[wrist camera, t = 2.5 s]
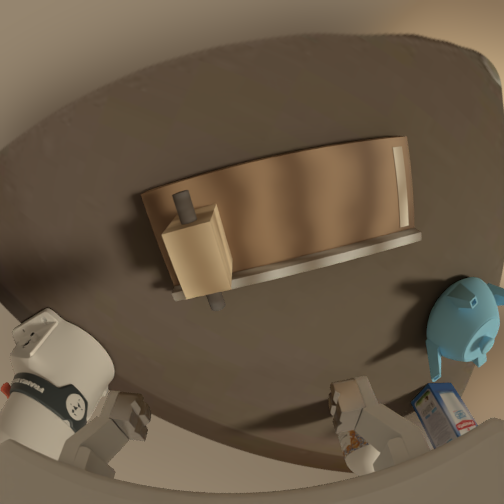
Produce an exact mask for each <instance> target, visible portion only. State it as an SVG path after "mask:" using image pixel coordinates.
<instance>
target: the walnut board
mask: <svg viewBox="0 0 504 504" xmlns="http://www.w3.org/2000/svg"><path fill="white" fill-rule="evenodd" d="M184 190H189V194H190V197H191V200H192V204H193V207H194V210H195V209H198V208H202V207H206V206H209V205H213V204H217V208H218V211H219V215H220V218H221V222H222V225H223V229H224V232H225V236H226V239H227V242H228V246H229V249H230V253H231V256H232V259H233V260H232V284H231V289H234V288H239V287H243V286H247V285H252V284H256V283H260V282H264V281H269V280H273V279H277V278H281V277H285V276H289V275H293V274H297V273H302V272H306V271H310V270H313V269H317V268H321V267H325V266H329V265H333V264H337V263H341V262H344V261H348V260H352V259H356V258H359V257H363V256H367V255H371V254H374V253H378V252H381V251H385V250H389V249H392V248H396V247H399V246H403V245H406V244H410V243H413V242H417V241H420V240H421V231H419V230H417V229H416V228H414V202H413V187H412V175H411V165H410V157H409V149H408V142H407V136H392V137H382V138H374V139H366V140H359V141H352V142H345V143H338V144H332V145H326V146H320V147H315V148H309V149H304V150H299V151H294V152H289V153H284V154H279V155H274V156H270V157H265V158H261V159H257V160H252V161H248V162H244V163H240V164H236V165H232V166H228V167H225V168H221V169H217V170H213V171H210V172H206V173H203V174H199V175H196V176H192V177H189V178H185V179H182V180H179V181H176V182H172V183H169V184H166V185H163V186H160V187H157V188H154V189H151V190H148V191H146V192H144V193H142V194H141V197H142V200H143V203H144V206H145V209H146V212H147V215H148V218H149V220H150V223H151V226H152V229H153V232H154V235H155V237H156V240H157V243H158V246H159V248H160V251H161V254H162V256H163V259H164V261H165V264H166V266H167V269H168V272H169V274H170V277H171V279H172V281H173V284H174V289H173V291H172V295H173V298H174V300H175V301H179V300H184V299H186V297H185V295H184V292H183V290H182V287H181V285H180V282H179V280H178V277H177V275H176V272H175V270H174V267H173V264H172V262H171V259H170V256H169V254H168V251H167V248H166V246H165V243H164V240H163V237H162V233H163V232H164V231H165V230H166V228H167V227H168V226H169V224H170V223H171V222H172V220H173V219H174V218H175V217H176V215H177V214H178V213H177V210H176V207H175V204H174V201H173V197H172V195H173V194H175V193H177V192H180V191H184Z"/></svg>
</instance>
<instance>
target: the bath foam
mask: <svg viewBox="0 0 504 504" xmlns="http://www.w3.org/2000/svg"><path fill="white" fill-rule="evenodd" d="M332 416H333V415H332ZM333 418H334V416H333ZM337 434H338V437H339V441H340V444H341V448H342V451H343V455H344V458H345V461H346V463H347V465H348V467H349V468H350V469H351V470H352V471H353V472H354V473H355V474H357V475H358V476H362V475H366V474H369V473H372V472H375V471H374V467H373V463H374V462H375V460H376V459H377V457H378V456H379V455H380V452H379V451H378V450H376V449H375V448H374V447H373V446H372V445H371V444H369V443H368V442H367V441H366V440H365V439H364V438H362V437H361V436H360V435H359V434H358V433H357V432H356V431H355V430H351V431H347V432H342V433H337Z"/></svg>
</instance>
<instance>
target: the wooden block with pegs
mask: <svg viewBox="0 0 504 504" xmlns="http://www.w3.org/2000/svg"><path fill="white" fill-rule="evenodd" d="M172 197H173V201H174V204H175V207H176V210H177V213H178V214H177V215H176V217H175V218H174V219H173V220H172V222H171V223H170V224H169V226H168V227H167V228H166V230H165V231H164V232H163V233H162V237H163V240H164V243H165V246H166V248H167V251H168V254H169V256H170V259H171V262H172V264H173V267H174V270H175V272H176V275H177V277H178V280H179V282H180V285H181V287H182V290H183V292H184V295H185V297H186V299H189V298H194V297H199V296H203V295H206V296H207V299H208V302H209V304H210V307H211V309H212V310H213V311H219V310H221V309H223V308H224V307H225V302H224V299H223V296H222V293H221V292H222V291H226V290H231V284H232V260H233V259H232V256H231V253H230V249H229V246H228V242H227V239H226V236H225V232H224V229H223V225H222V222H221V218H220V215H219V211H218V208H217V204H213V205H209V206H206V207H202V208H198V209H195V210H194V207H193V204H192V200H191V197H190V194H189V190H184V191H180V192H177V193H175V194H173V195H172Z"/></svg>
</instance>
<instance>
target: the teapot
mask: <svg viewBox="0 0 504 504" xmlns="http://www.w3.org/2000/svg"><path fill="white" fill-rule="evenodd" d="M499 305H504V289H503V288H501V287H498V286H495V285H492V284H489V283H488V284H487V285H486V283H485V282H483V281H482V280H481V279H479V278H476V277H469V278H465V279H462V280H460V281H457V282H455V283H454V284H452V285H451V286H450V287H449V288H447V289H446V290H445V291H444V292H443V294H442V295H441V296H440V297H439V298H438V300H437V301H436V303H435V305H434V306H433V308H432V310H431V313H430V315H429V319H428V324H427V340H426V341H425V342H426V347H427V353H428V360H429V366H430V373H431V379H432V381H433V382H434V381H436V380H437V379H438V378H440V377H441V356H444V357H446V358H449V359H452V360H457V361H464V362H468V361H472V362H473V363H475V364H476V365H477V366H478V367H480V366H481V365H482V364H484V363H485V362H486V361H487V360H486V353H487V352H488V351H489V350H490V349H491V347H492V346H493V344H494V338H495V337H496V335H497V332H498V329H499V325H500V320H499V313H498V308H497V306H499Z"/></svg>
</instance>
